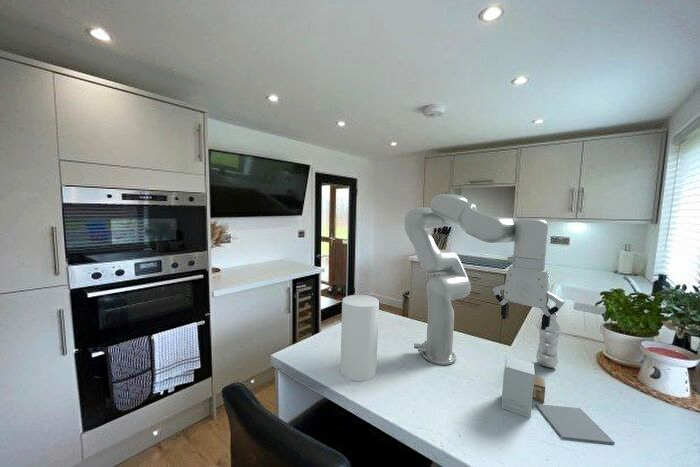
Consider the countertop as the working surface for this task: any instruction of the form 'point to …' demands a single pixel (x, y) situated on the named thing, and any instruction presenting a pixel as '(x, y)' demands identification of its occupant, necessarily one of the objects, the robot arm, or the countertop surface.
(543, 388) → the letter cube
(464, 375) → the countertop surface
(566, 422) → the mat
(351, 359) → the cylinder
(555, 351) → the plastic bottle
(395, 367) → the countertop surface
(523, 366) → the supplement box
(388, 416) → the countertop surface
